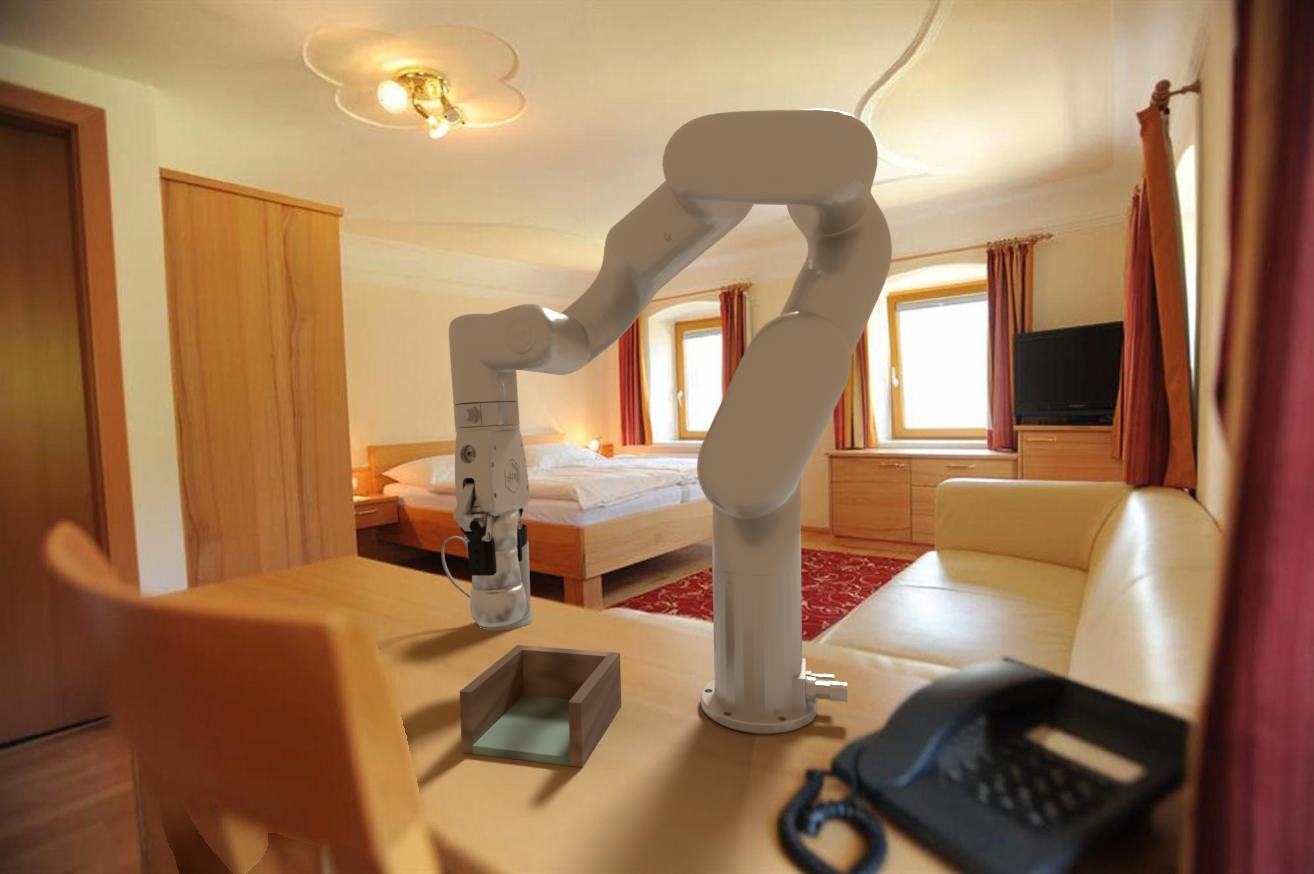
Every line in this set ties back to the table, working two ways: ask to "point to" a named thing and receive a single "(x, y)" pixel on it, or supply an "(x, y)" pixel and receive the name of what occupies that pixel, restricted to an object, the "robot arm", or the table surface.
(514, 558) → the plastic bottle
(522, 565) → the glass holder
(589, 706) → the u rest
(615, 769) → the table surface
